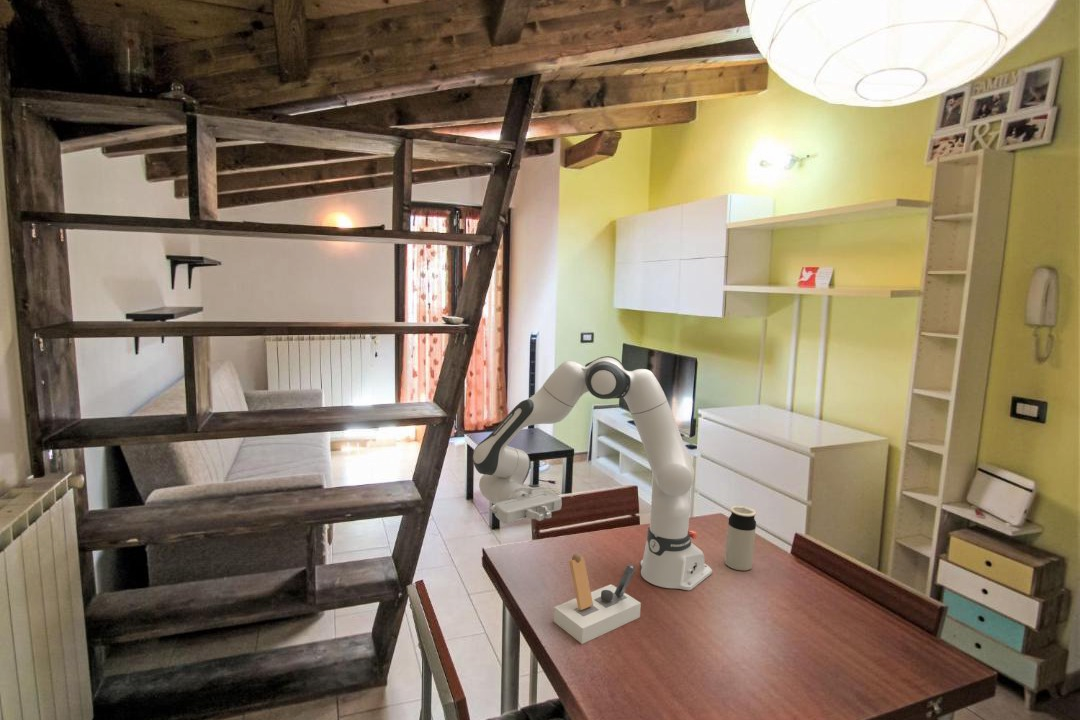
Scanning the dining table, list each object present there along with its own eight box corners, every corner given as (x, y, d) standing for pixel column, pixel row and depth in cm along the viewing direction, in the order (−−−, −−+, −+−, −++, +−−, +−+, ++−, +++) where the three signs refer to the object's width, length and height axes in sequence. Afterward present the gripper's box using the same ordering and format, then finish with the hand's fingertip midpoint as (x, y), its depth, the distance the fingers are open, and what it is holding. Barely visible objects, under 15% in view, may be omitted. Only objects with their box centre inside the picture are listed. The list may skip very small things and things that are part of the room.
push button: (606, 593, 152) (607, 588, 152) (614, 598, 150) (615, 593, 150) (598, 597, 150) (598, 592, 150) (606, 602, 148) (606, 597, 148)
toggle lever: (618, 589, 154) (632, 561, 149) (624, 596, 152) (638, 568, 148) (612, 592, 152) (625, 563, 148) (618, 599, 151) (631, 570, 146)
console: (610, 597, 159) (611, 583, 159) (639, 617, 151) (640, 602, 150) (553, 621, 147) (554, 606, 147) (581, 644, 139) (582, 627, 138)
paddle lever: (588, 604, 148) (578, 552, 150) (594, 605, 146) (584, 552, 149) (577, 609, 146) (567, 556, 148) (582, 610, 144) (572, 556, 146)
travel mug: (748, 574, 176) (753, 517, 173) (721, 566, 180) (726, 511, 177) (754, 563, 182) (759, 509, 180) (728, 556, 186) (733, 503, 184)
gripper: (486, 496, 162) (514, 513, 151) (544, 483, 174) (574, 498, 163) (485, 518, 163) (513, 536, 152) (543, 503, 175) (573, 519, 164)
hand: (545, 516), depth 158 cm, fingers closed
